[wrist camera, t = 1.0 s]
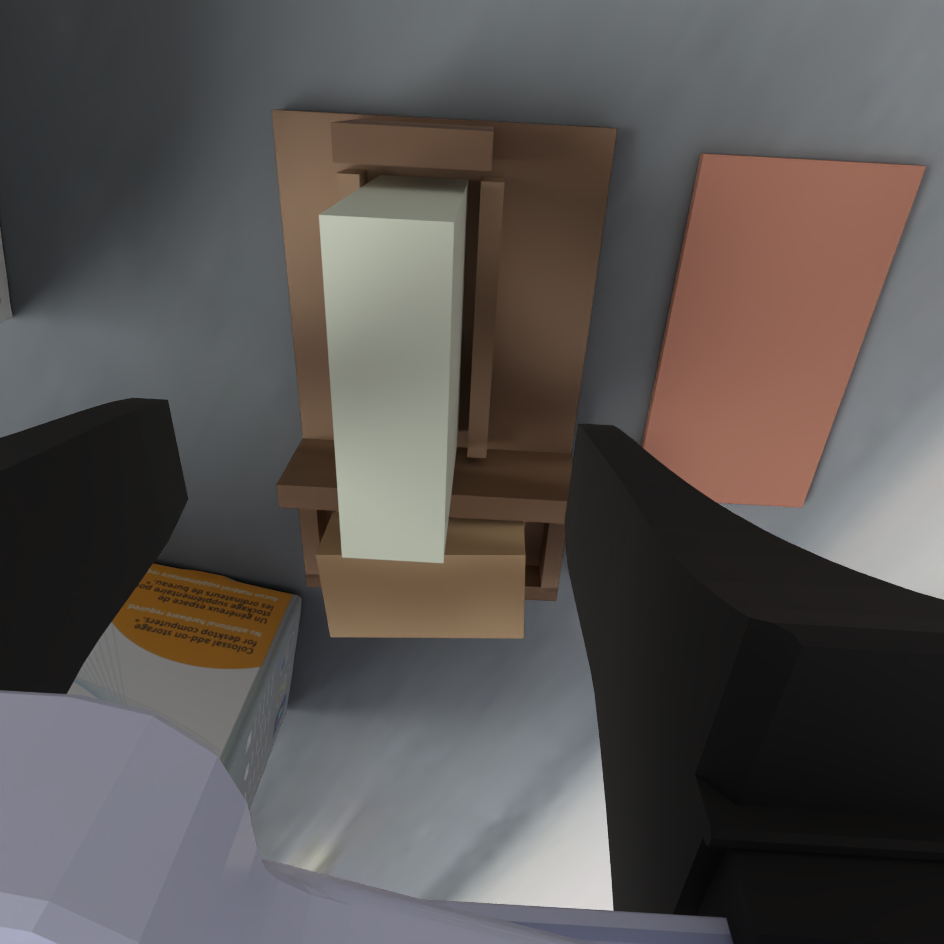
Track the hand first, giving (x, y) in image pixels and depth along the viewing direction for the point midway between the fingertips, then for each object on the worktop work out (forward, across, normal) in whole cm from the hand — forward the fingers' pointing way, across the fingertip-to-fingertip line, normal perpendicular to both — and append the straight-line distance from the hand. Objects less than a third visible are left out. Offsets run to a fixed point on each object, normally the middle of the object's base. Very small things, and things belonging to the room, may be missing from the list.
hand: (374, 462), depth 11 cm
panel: (+9, 0, 0) cm, 9 cm away
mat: (+10, -10, +1) cm, 14 cm away
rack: (+10, 0, +2) cm, 10 cm away
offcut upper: (+7, 0, +7) cm, 10 cm away
